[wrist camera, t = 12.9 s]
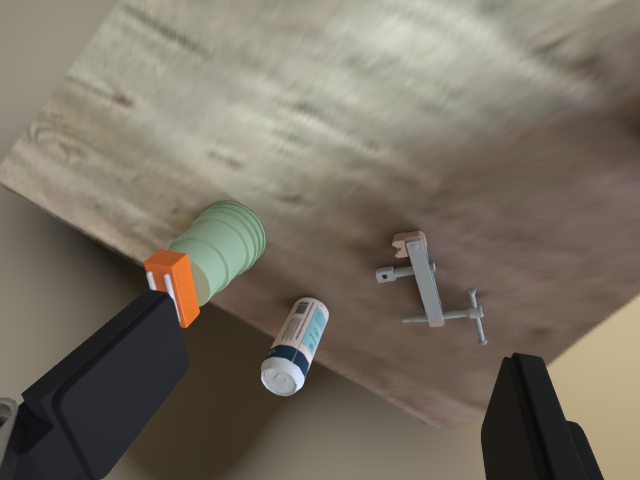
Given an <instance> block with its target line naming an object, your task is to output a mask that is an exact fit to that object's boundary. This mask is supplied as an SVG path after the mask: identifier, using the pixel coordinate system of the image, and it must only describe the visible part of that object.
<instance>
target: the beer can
mask: <svg viewBox="0 0 640 480" xmlns="http://www.w3.org/2000/svg"><path fill="white" fill-rule="evenodd" d="M328 318H329V313H328V310H327V308H326V307H325V305H324V304H323V303H322V302H320V301H319V300H317V299H314V298H308V297H306V298H301V299H299V300H298V301H297V302H296V303H295V304H294V306H293V308H292V310H291V312H290V314H289V316H288V317H287V319H286V321H285V323H284V325H283V327H282V328H281V330H280V332H279V334H278V336H277V338H276V340H275V341H274V343H273V345H272V347H271V349H270V351H269V353H268V354H267V356H266V358H265V360H264V362H263V364H262V367H261V376H262V378H261V380H262V382H263V383H264V385H265V387H266V388H267V389H269V390H270V391H272V392H273V393H275V394H277V395H283V396H289V395H291V394H293V393H295V392H296V391H297V390H298V389H300V388H301V387H302V386H303V384H304V379H305V377H306V374H307V372H308V369H309V366H310V364H311V361H312V359H313V356H314V353H315V351H316V348H317V346H318V343H319V340H320V338H321V335H322V333H323V330H324V328H325V325H326V323H327V321H328Z"/></svg>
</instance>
